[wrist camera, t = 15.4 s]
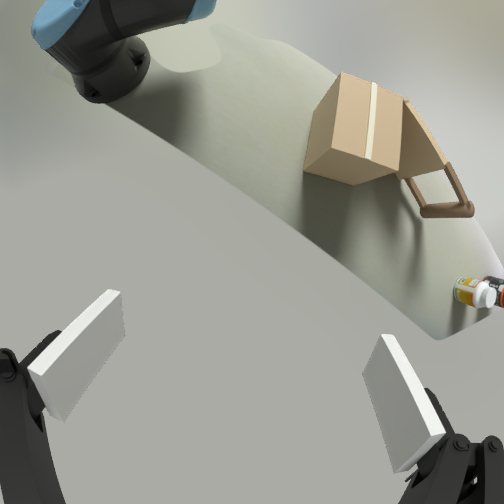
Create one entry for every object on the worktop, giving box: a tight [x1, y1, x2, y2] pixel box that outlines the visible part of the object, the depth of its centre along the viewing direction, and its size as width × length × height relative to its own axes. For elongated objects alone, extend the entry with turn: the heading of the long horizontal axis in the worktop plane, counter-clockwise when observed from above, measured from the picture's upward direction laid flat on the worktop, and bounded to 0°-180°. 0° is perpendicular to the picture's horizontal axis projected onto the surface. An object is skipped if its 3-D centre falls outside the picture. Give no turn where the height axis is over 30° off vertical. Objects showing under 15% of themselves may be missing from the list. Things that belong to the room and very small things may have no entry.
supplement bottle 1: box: [454, 277, 496, 308], centre depth 41 cm, size 5×5×10 cm
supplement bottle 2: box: [483, 276, 504, 308], centre depth 41 cm, size 6×6×11 cm
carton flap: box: [394, 97, 474, 218], centre depth 36 cm, size 19×2×14 cm, turn 37°
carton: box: [303, 72, 403, 186], centre depth 35 cm, size 11×9×14 cm
